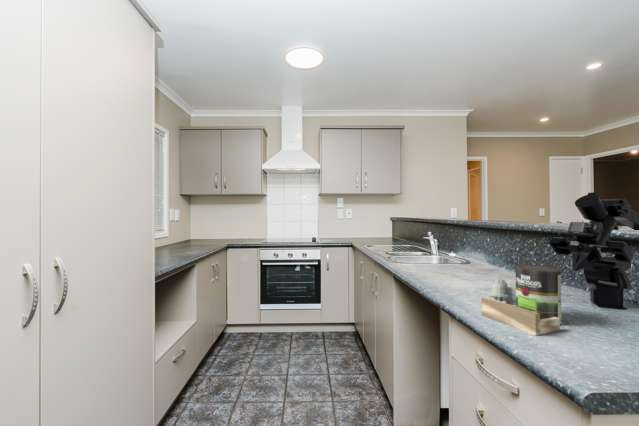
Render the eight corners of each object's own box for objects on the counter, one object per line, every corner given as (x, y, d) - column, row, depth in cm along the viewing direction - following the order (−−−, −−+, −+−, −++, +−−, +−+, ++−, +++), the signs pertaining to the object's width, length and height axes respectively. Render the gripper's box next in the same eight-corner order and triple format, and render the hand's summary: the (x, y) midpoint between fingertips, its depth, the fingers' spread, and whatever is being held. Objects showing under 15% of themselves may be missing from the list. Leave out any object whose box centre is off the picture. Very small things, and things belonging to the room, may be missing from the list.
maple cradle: (503, 311, 87) (503, 294, 87) (559, 330, 73) (559, 310, 73) (481, 315, 84) (481, 297, 84) (535, 335, 70) (535, 314, 70)
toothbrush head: (508, 278, 113) (507, 282, 92) (508, 296, 112) (507, 304, 92) (492, 277, 116) (488, 280, 95) (492, 294, 115) (488, 302, 94)
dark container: (545, 328, 74) (545, 272, 74) (506, 315, 84) (506, 265, 84) (571, 322, 78) (571, 269, 78) (531, 310, 88) (531, 263, 88)
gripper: (551, 212, 97) (528, 247, 93) (626, 212, 79) (601, 255, 76) (567, 235, 100) (545, 271, 96) (643, 240, 82) (620, 283, 78)
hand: (574, 269), depth 86 cm, fingers closed
